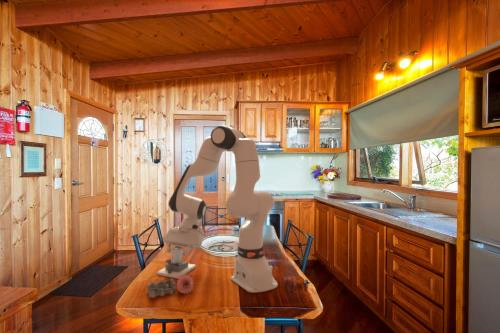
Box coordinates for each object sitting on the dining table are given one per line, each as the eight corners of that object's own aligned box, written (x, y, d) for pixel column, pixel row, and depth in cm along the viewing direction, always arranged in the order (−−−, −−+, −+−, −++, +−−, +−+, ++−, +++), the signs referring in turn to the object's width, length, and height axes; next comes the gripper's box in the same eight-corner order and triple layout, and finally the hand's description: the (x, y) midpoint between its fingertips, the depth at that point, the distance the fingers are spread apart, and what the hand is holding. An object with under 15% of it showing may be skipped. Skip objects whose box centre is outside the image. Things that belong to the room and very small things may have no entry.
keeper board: (175, 263, 135) (175, 248, 135) (195, 267, 131) (195, 251, 131) (155, 275, 121) (155, 258, 121) (177, 279, 117) (177, 262, 117)
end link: (182, 267, 128) (182, 247, 128) (178, 270, 124) (178, 249, 124) (176, 266, 129) (176, 246, 129) (171, 269, 126) (171, 248, 125)
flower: (175, 273, 110) (180, 269, 106) (193, 278, 113) (198, 274, 109) (170, 293, 104) (175, 290, 101) (189, 298, 107) (194, 295, 104)
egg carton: (148, 299, 100) (147, 289, 100) (146, 291, 107) (146, 281, 107) (176, 294, 105) (176, 283, 105) (173, 285, 112) (173, 276, 112)
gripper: (168, 223, 137) (155, 247, 128) (202, 226, 129) (191, 253, 120) (173, 229, 141) (161, 253, 132) (207, 233, 134) (196, 259, 125)
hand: (176, 253), depth 126 cm, fingers open, 8 cm apart
